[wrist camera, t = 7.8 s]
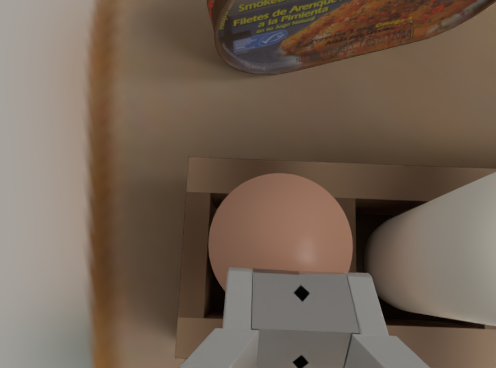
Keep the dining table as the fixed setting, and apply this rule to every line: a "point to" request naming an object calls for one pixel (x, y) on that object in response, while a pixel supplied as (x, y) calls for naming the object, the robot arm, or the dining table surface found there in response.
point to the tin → (325, 29)
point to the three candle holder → (352, 202)
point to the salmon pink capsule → (279, 228)
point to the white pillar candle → (440, 256)
